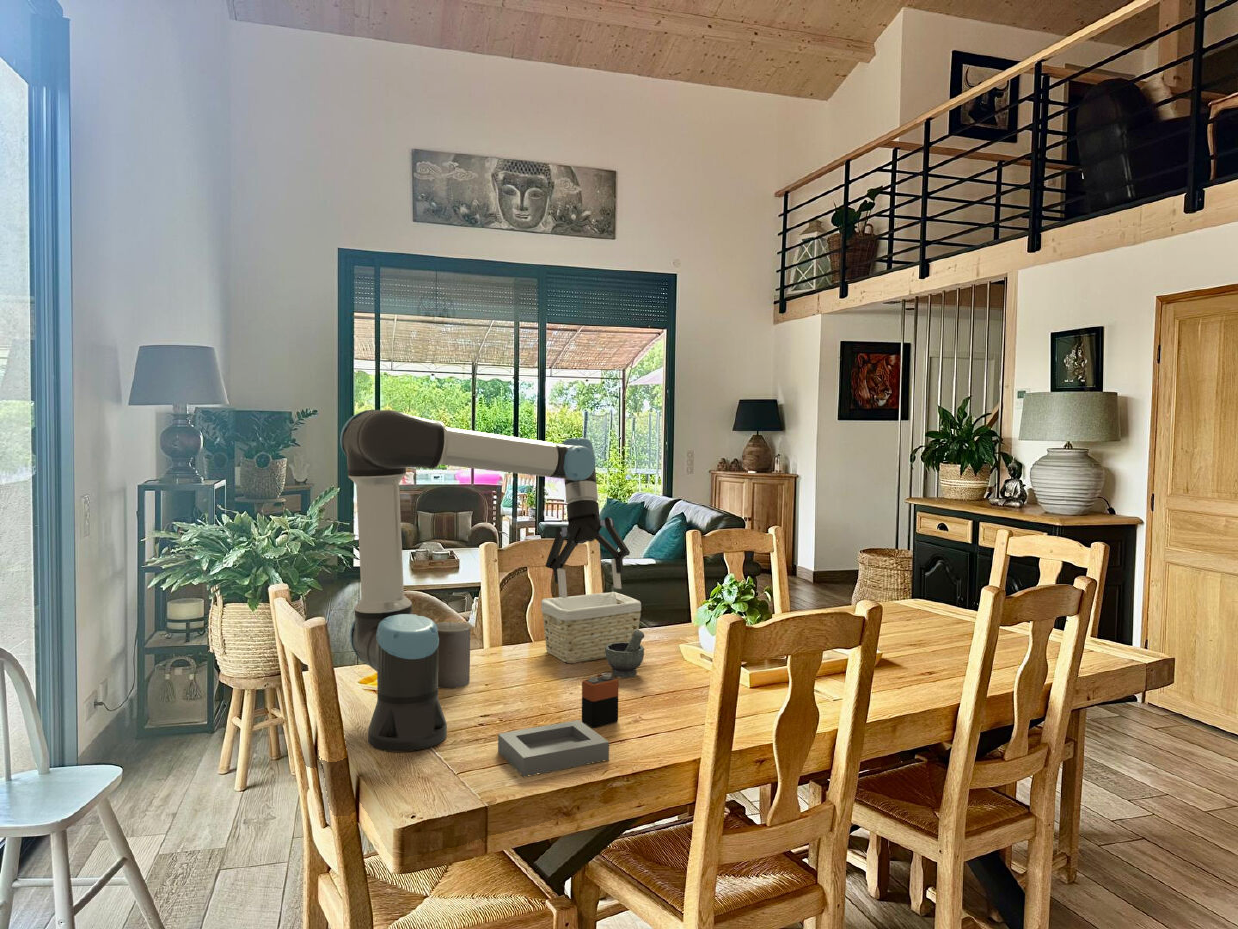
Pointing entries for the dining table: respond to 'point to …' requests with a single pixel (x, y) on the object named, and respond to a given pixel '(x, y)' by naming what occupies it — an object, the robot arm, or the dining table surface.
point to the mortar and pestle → (625, 656)
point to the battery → (600, 700)
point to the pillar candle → (453, 654)
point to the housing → (552, 747)
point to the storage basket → (588, 624)
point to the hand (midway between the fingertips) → (590, 593)
